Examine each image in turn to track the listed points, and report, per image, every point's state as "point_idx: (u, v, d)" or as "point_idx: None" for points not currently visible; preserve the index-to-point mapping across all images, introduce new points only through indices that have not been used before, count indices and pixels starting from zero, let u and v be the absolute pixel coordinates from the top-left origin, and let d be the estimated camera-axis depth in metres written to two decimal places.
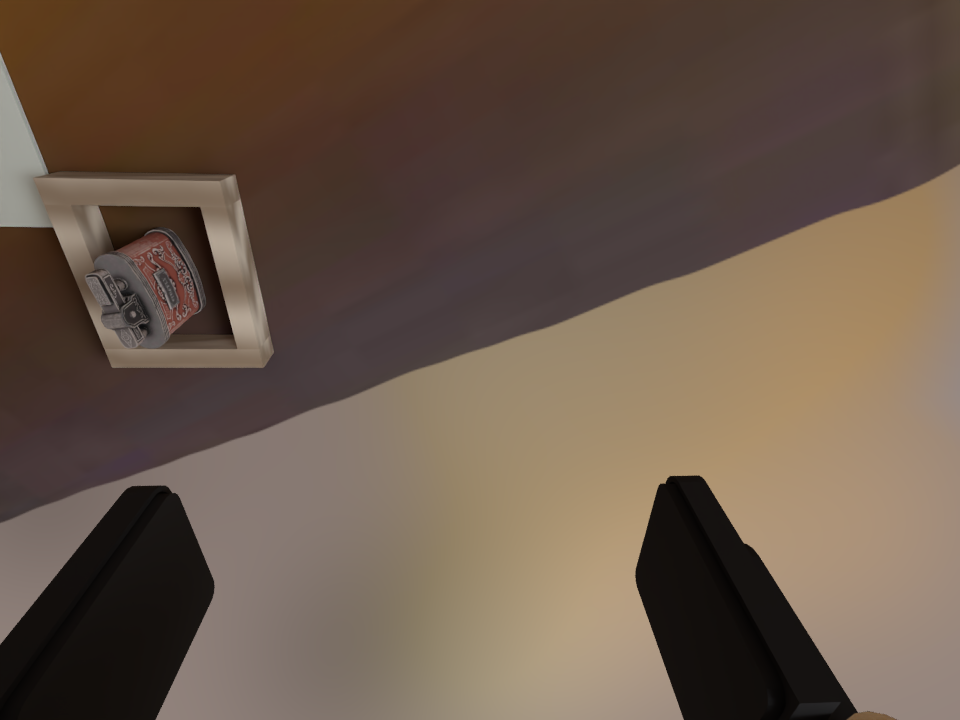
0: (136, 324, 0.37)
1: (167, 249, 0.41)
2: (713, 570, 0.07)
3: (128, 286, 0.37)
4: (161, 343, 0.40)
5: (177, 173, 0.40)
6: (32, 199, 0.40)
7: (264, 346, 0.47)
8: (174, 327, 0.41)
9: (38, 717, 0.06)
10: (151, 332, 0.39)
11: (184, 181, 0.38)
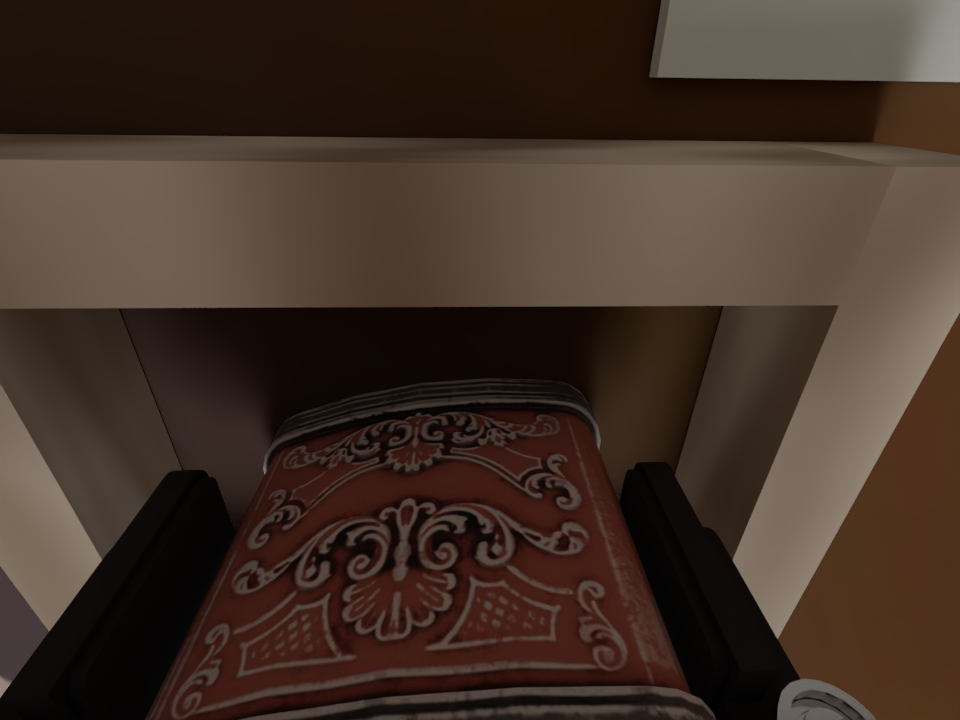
0: None
1: None
2: (671, 550, 0.08)
3: None
4: None
5: None
6: None
7: None
8: None
9: (101, 682, 0.06)
10: None
11: None
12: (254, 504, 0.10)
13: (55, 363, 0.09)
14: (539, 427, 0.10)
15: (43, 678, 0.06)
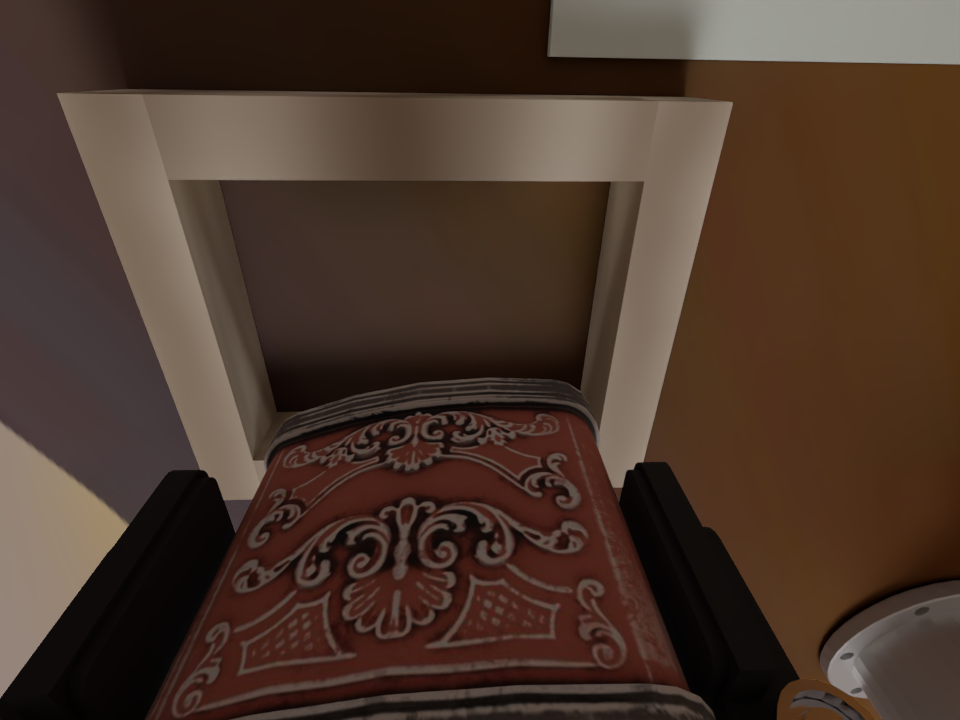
0: None
1: None
2: (670, 549, 0.08)
3: None
4: None
5: None
6: None
7: None
8: None
9: (102, 682, 0.06)
10: None
11: (647, 435, 0.19)
12: (254, 503, 0.10)
13: (200, 226, 0.15)
14: (539, 427, 0.10)
15: (44, 678, 0.06)
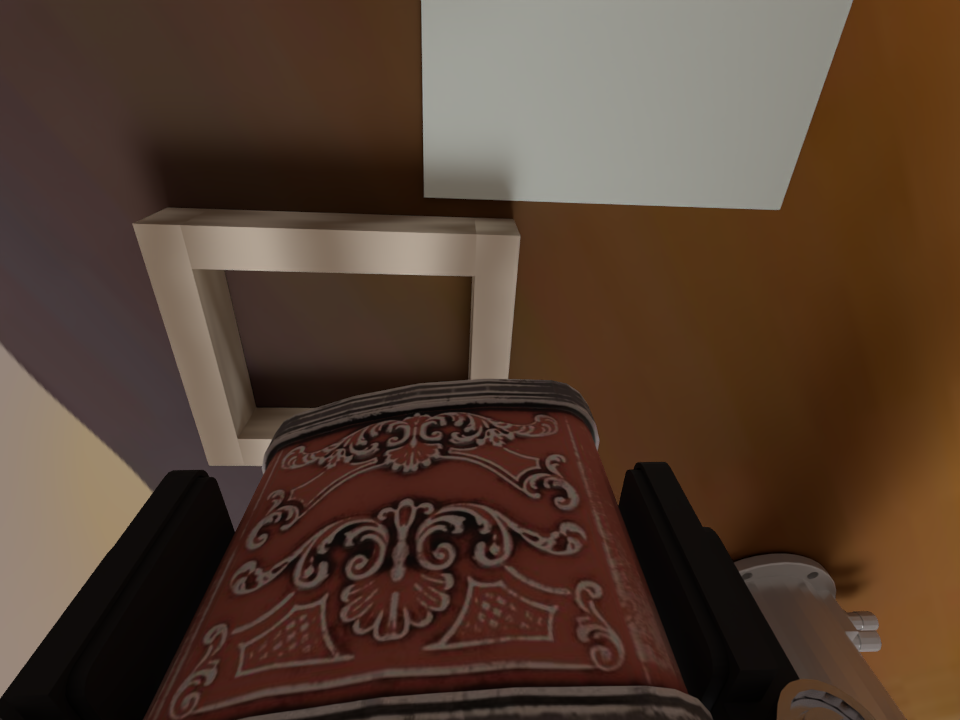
0: None
1: None
2: (670, 549, 0.08)
3: None
4: None
5: None
6: (472, 158, 0.23)
7: None
8: None
9: (102, 682, 0.06)
10: None
11: None
12: (253, 504, 0.10)
13: (209, 291, 0.24)
14: (538, 428, 0.10)
15: (43, 678, 0.06)
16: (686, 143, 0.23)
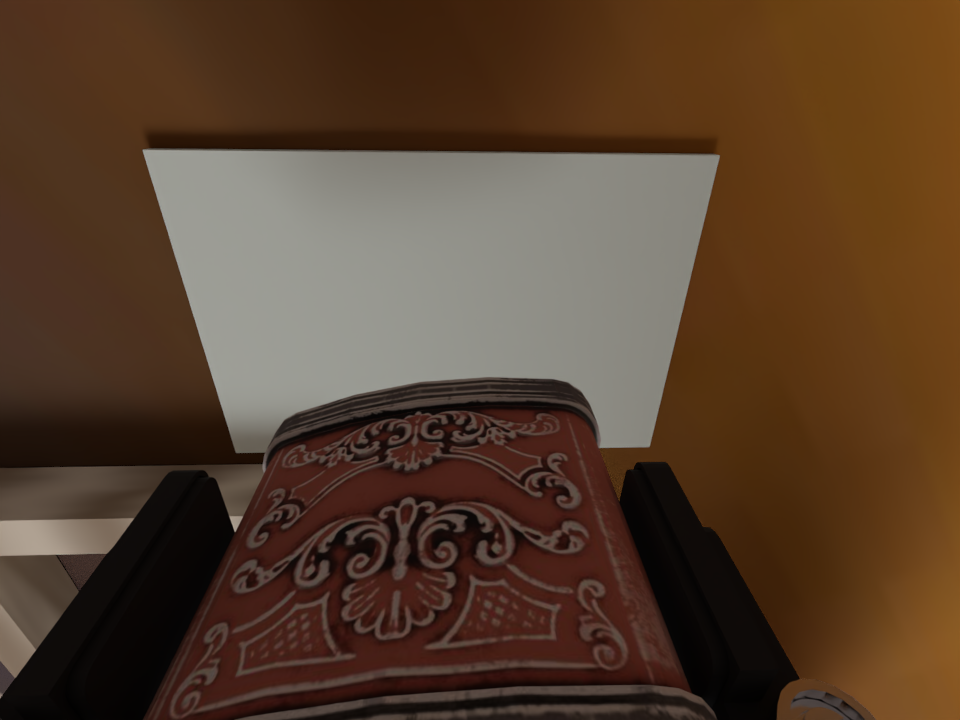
0: None
1: None
2: (670, 549, 0.08)
3: None
4: None
5: None
6: (282, 417, 0.20)
7: None
8: None
9: (102, 682, 0.06)
10: None
11: None
12: (253, 503, 0.10)
13: (2, 559, 0.21)
14: (539, 426, 0.10)
15: (44, 678, 0.06)
16: None
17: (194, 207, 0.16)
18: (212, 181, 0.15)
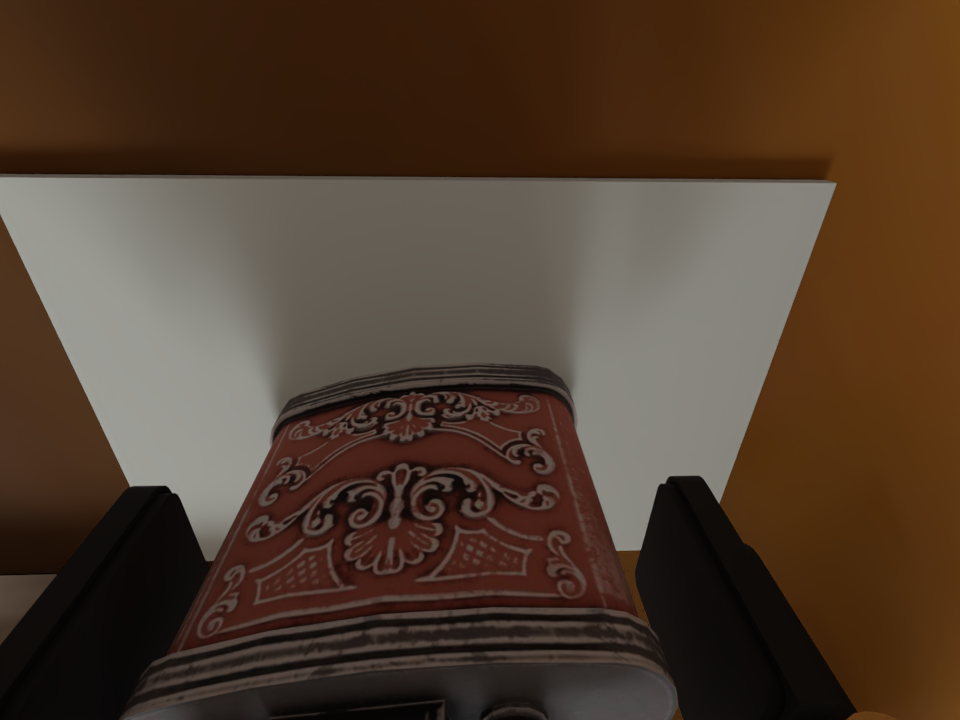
0: None
1: None
2: (713, 570, 0.07)
3: None
4: None
5: None
6: (223, 521, 0.15)
7: None
8: None
9: (38, 717, 0.06)
10: None
11: None
12: (263, 470, 0.11)
13: None
14: (521, 406, 0.11)
15: None
16: None
17: (71, 258, 0.11)
18: (94, 222, 0.10)
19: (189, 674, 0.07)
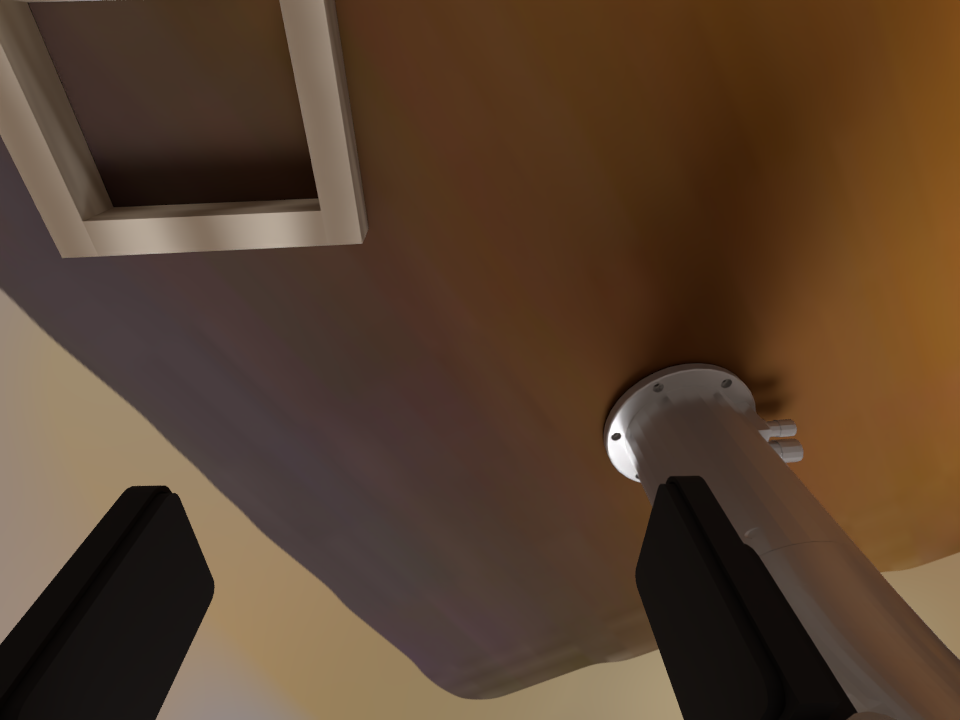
0: None
1: None
2: (713, 570, 0.07)
3: None
4: None
5: (356, 150, 0.29)
6: None
7: None
8: None
9: (38, 717, 0.06)
10: None
11: (353, 196, 0.27)
12: None
13: (14, 37, 0.23)
14: None
15: None
16: None
17: None
18: None
19: None
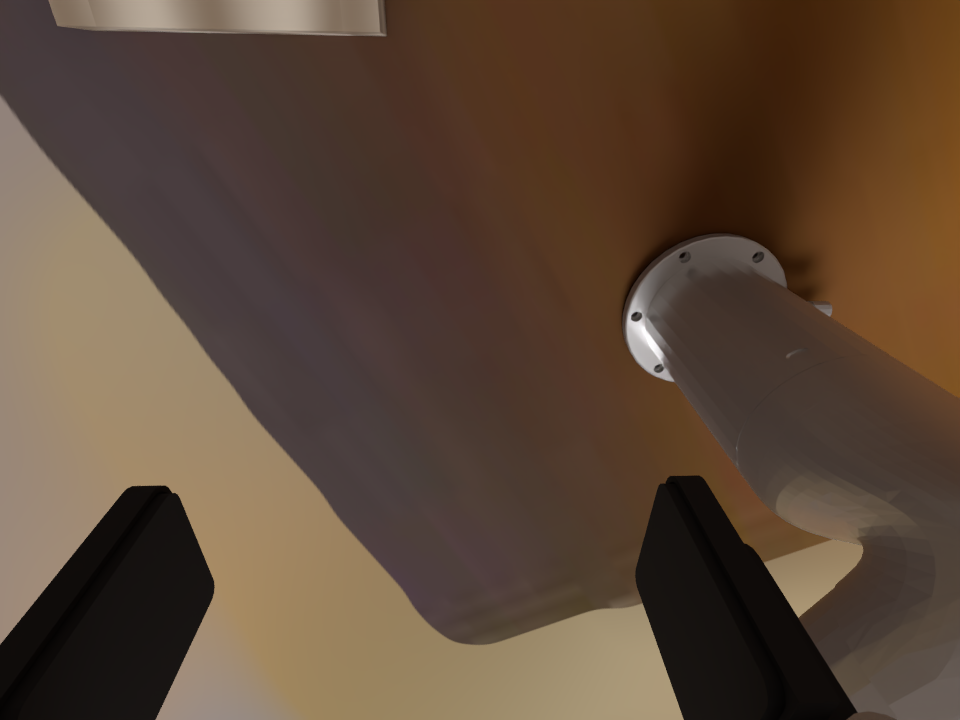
0: None
1: None
2: (713, 570, 0.07)
3: None
4: None
5: None
6: None
7: (103, 28, 0.27)
8: None
9: (38, 717, 0.06)
10: None
11: None
12: None
13: None
14: None
15: None
16: None
17: None
18: None
19: None
